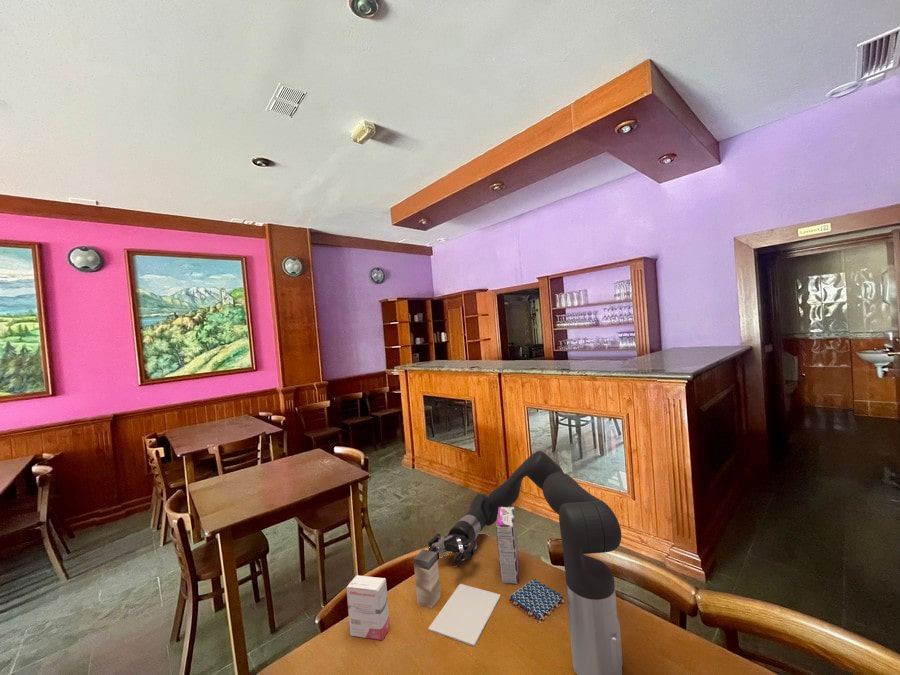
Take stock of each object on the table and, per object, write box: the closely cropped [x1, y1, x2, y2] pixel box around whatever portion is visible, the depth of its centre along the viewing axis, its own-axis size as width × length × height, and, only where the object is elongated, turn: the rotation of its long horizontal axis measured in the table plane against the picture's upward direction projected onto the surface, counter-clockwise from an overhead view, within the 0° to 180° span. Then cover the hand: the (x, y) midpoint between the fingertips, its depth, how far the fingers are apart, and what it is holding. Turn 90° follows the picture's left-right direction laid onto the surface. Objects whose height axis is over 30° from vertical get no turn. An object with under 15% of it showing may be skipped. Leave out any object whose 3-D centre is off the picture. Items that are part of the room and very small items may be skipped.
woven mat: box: [508, 578, 565, 624], centre depth 93 cm, size 10×11×2 cm
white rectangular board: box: [427, 583, 502, 647], centre depth 92 cm, size 12×17×1 cm
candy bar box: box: [495, 506, 520, 585], centre depth 106 cm, size 11×5×16 cm, turn 168°
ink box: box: [346, 575, 391, 641], centre depth 88 cm, size 9×5×12 cm, turn 74°
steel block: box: [413, 548, 441, 610], centre depth 97 cm, size 4×4×12 cm
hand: (440, 560), depth 104 cm, fingers open, 8 cm apart
